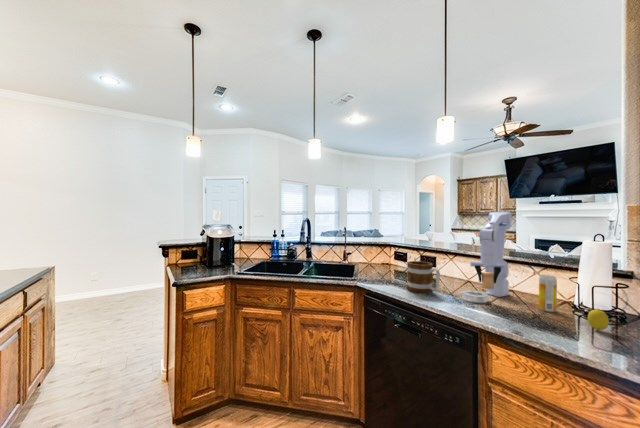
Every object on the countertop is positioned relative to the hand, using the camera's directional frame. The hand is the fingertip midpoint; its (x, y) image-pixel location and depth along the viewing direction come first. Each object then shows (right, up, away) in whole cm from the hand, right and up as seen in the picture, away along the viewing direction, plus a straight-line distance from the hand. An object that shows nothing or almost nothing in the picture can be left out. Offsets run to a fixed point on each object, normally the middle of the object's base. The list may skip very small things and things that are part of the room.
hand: (487, 282), depth 137 cm
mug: (-24, -9, +17) cm, 31 cm away
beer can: (+20, -10, -11) cm, 25 cm away
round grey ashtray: (-4, -9, +3) cm, 11 cm away
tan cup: (0, -3, 0) cm, 3 cm away
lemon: (+21, -10, -33) cm, 40 cm away
